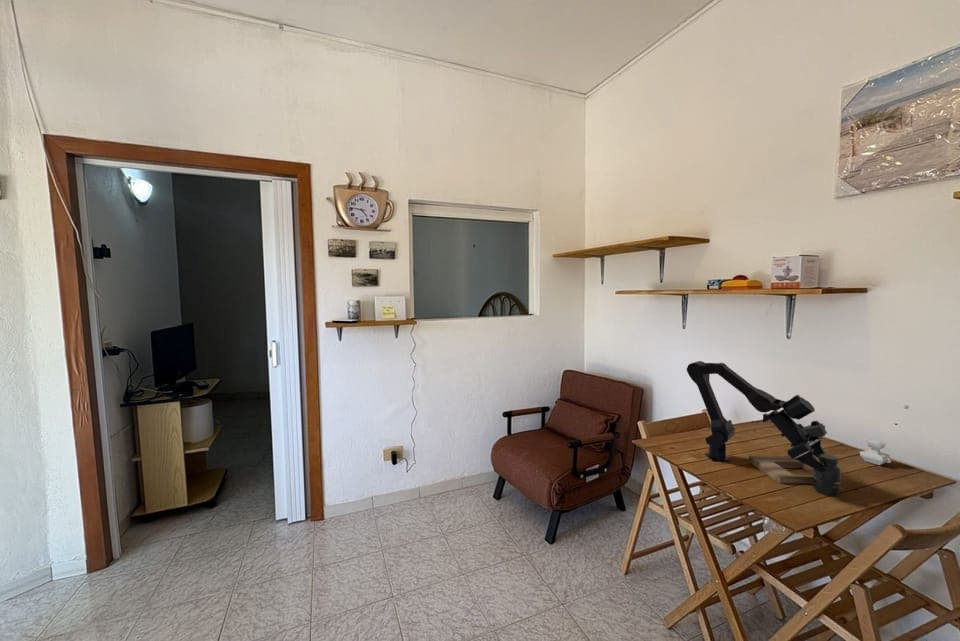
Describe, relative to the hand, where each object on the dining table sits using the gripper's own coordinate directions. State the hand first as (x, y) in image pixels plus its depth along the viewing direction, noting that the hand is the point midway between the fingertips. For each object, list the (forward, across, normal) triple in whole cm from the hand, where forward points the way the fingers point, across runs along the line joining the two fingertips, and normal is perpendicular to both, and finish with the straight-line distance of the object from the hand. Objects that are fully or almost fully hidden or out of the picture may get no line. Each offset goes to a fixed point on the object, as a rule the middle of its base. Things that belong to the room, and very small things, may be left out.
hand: (826, 467), depth 131 cm
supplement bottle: (+6, 0, +6) cm, 8 cm away
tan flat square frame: (-2, +7, +14) cm, 16 cm away
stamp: (+11, +42, +1) cm, 43 cm away
